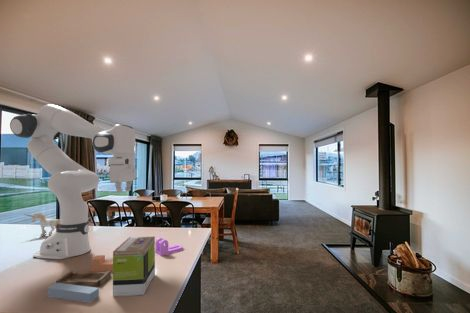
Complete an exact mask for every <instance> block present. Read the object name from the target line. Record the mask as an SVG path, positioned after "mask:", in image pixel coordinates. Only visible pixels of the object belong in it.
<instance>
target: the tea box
mask: <svg viewBox="0 0 470 313" xmlns="http://www.w3.org/2000/svg"><path fill="white" fill-rule="evenodd" d="M155 238H156V237H155V236H136V237H135V236H134V237H131V236H129V237H128V238H126V240H125V241H123V242H122V243H121V244H120V245H118V247H116V248H115V250H113V252H112V260H113V271H112V296H113V297H131V296H143V295H145V293H146V291H147V289H148V287H149V285H150V284H151V282H152V281H153V278H154V277H155V274H156V273H155V272H156V262H155V261H156V253H155V244H156V239H155Z"/></svg>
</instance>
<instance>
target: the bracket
mask: <svg viewBox="0 0 470 313" xmlns="http://www.w3.org/2000/svg"><path fill="white" fill-rule="evenodd" d="M182 249H183V250H184V245H182V244H174V245H170V246H169V241H168V240H167V239H164V238H162V237H157V239H155V255H158V256H160V257H163V256H166V255H170V254H173V252H174V253H177V252H181V251H183V250H182ZM180 250H181V251H180Z"/></svg>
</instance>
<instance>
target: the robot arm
mask: <svg viewBox="0 0 470 313" xmlns="http://www.w3.org/2000/svg"><path fill="white" fill-rule="evenodd" d="M9 127H10V130H11V132H12V134H13V135H14V136H16V137H18V138H23V139H29V138H31V139H30V140H29V141H28V142H27V144H26V147H27V150H28V152H29V153H30V155H31V156H32V158H34V160H35V161H36V162H37V163H38V165H40V166H41V167H42V168H43V169H44V170H45V171H46V172H47V173H48V174H49V175H50V177H49V178H48V181H47V187H48V190H49V191H50V192H51V193H52V194H54V195H55V197H56V199H57V201H58V203H59V207H60V208H59V209H60V224H58V225H56V227H55V226H54V230H55V229H56V228H57V230H56V231H54V233H53V232H52V234H51V236H49V235H48V237H47V238H45V239H44V240H43V241H42V242H41V243H40V244H41V245H40V247H39V250H38V251H36V252H35V253H34V254H33V256H32V257H33V258H34V257H36V258H35V259H37V258H38V259H49V260H51V259H52V260H65V259H68V258H71V257H72V258H73V257H77V256H81V255H84V254H87V253H88V252H90V251H91V250H92V247H91V246H90V239H89V230H90V222H89V205H88V203H87V202H85V200H84V198H83V196H82V193H86V192H87V193H88V192H89V191H92V190H94V189H96V188H97V187H98V185H99V183H100V177H99V175H98V174H97V173H96V172H94V171H91V170H89V169H87V168H85V167H84V166H83V165H81V164H80V163H78V162H76V161H75V160H73V159H72V158H70V157H69V156H68V155H67V154H66V153H65V152H64V151H63V149H61V148H60V147H59V146H58V145H57V144H56V143H55V141H56V140H58V139H60V136H61V135H63V134H64V135H67V136H73V137H81V138H87V139H91V140H92V147H93V149H94V151H96V152H98V153H100V154H104V155H105V154H106V155H107V154H108V155H113V156H112V157H111V158H109V159H108V165H109V168H108V170H109V172H108V173H109V175H108V176H109V181H110V183H112V184H114V186H115V189H116V193H117V194H122V193H123V188H122V185H123V184H122V183H125V192H130V191H131V186H132V184H133V181H136V178H137V177H136V176H137V175H136V173H137V172H136V165H135V164H136V151H135V147H136V133H135V128H134V127H132V126H131V125H130V126H129V125H128V124H127V125H126V124H122V123H121V124H120V123H118V124H115V125H114V126H113V127H112V128H110V129H108V130H104V129H103V128H100V127H99V126H97V125H94V124H93V123H91V122H89V120H88V121H87V120H86V119H84V118H83V117H81V116H80V115H79V114H76V113H74V112H73V111H71V110H69V109H67V108H64V107H62V106H58V105H55V104H50V103H49V104H45V105H43V106H42V107H41V108H39V111H38V113H37V114H32V113H27V114H19V115H16V116H14V117H13V118H12V119H11V120H10V124H9Z"/></svg>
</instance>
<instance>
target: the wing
mask: <svg viewBox="0 0 470 313" xmlns="http://www.w3.org/2000/svg"><path fill="white" fill-rule="evenodd" d="M46 289H47V293H46V294H47V295H46V296H47V297H51V298H57V299H62V300H69V301H76V302H83V303H92V302H93V301H94V300H96V299H97V298H99V297H100V288H99V287H96V286H80V285H73V284H65V283H56V282H55V283H54V284H52V285H50V286H48V287H47V288H46Z"/></svg>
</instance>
